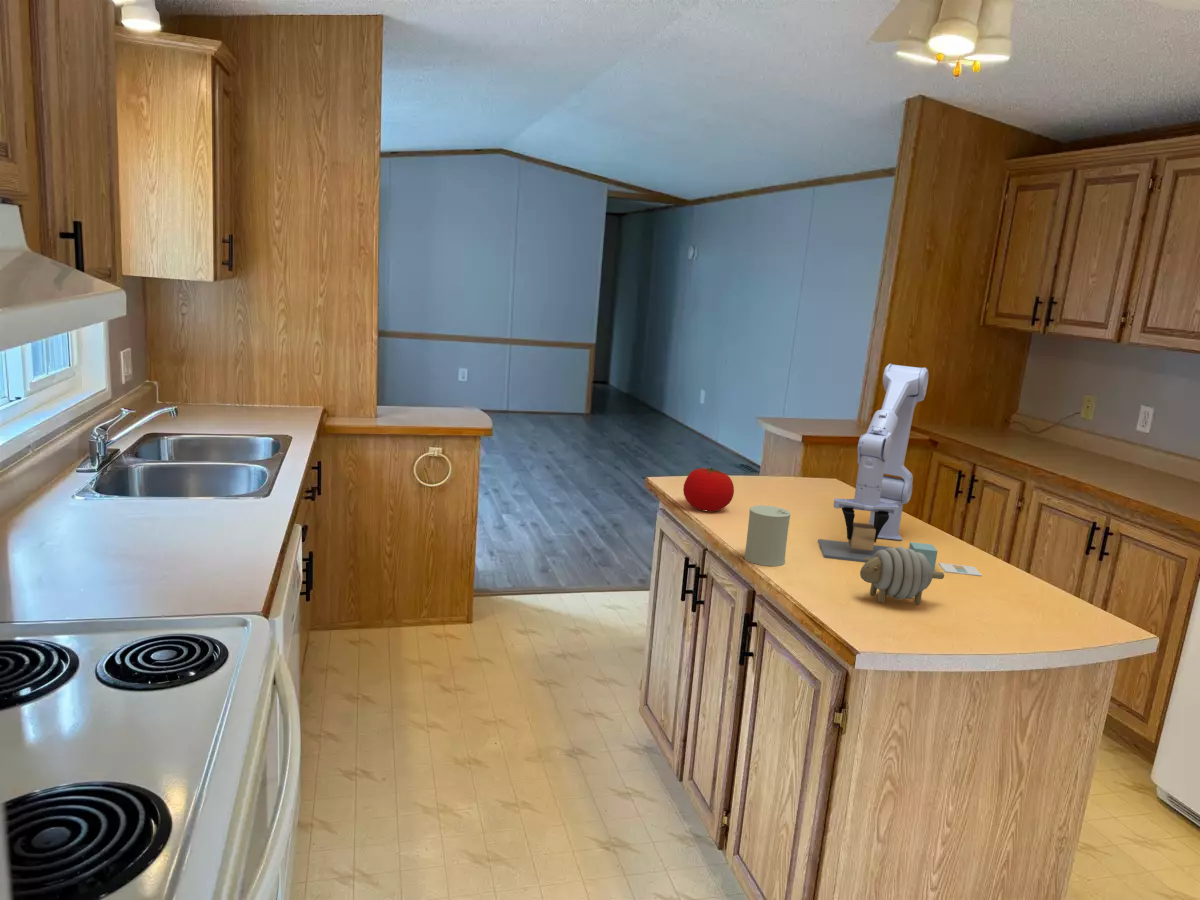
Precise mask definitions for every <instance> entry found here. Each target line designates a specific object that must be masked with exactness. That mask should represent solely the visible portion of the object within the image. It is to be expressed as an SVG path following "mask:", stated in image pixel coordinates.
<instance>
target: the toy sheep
mask: <svg viewBox="0 0 1200 900" xmlns="http://www.w3.org/2000/svg"><path fill="white" fill-rule="evenodd" d="M866 561H867V562H864V563H863V565H862V566H861V568H860V571H859V576H860V578H861V580H862V581H864V582H866V583H870V590H869V594H870V595H871V596H876V594H877V590H878V594H877V595H878V596H877V602H879V604H883V603H885V598H886V596H887V597H893V598H894V599H895V600H900V601H902V600H903V599H908V600H910V599H913V598H914V601H913V604H914V605H916V606H919V605H921V601H922V594H923V591H924V590H926V589H928V587H929V586H930V585H931V584H932V583H931V582H932V581H933V579H937V580H943V579H944V577H945V574H944V572H942V571H939V570H937V571H935V570H934V571H932V567H931V565H930V563H929V562H928V560H927V558H926V557H925V556H924V555H923V554H922V553H920V552H915V551H914V550H912V549H909V548H905V547H902V546H896V547H893V548H887V549H885V550H878V551H877V552H876V553H875V554H874V556H873V558H872V559H870V558H866Z"/></svg>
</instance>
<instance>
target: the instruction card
mask: <svg viewBox="0 0 1200 900" xmlns="http://www.w3.org/2000/svg"><path fill="white" fill-rule="evenodd" d="M938 565H939V566H940V567H941V569H942V570H943V571H944V572H945V573H952V574H960V575H969V576H976V577H977V576H978V577H982V576H983V575H982V573H981V572H980V571H979V569H977V568H976V567H975V566H972V565H971V566H969V565H962V564H961V565H960V564H951V563H943V562H938Z"/></svg>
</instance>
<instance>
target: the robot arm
mask: <svg viewBox="0 0 1200 900" xmlns="http://www.w3.org/2000/svg"><path fill="white" fill-rule="evenodd" d="M885 366H886V367H885V368H884V370H883V371H884V372H883V376H882V385H883V389H884V390H883V391H885V396H884V399H883V402H882V406H881V409H879V410H876V411H875V412H874V414H873V416H872V418H871V421H870V423H869V426H868V428H867V430H866V433H864V434H861V435H860V437H859V440H858V444H857V461H856V462H857V464H858V469H857V477H856V485H855V491H854V498H834V499H833V500H834V501H833V508H834V509H841V510H842V515H843V517H844V520H845V521H844V522H845V526H846V539H847V541H848V540H851V538H852V527H853V522H855V521H854V519H855V517H856V515H855V514H856V513H855V510H857V511H864V512H865V511H867V512H870V515H869V520H868V524H872V525H873V526H874V528H875V530H876V534H875V540H874V543H877V539H887V540H896V541H903V538H902V536H901V535H900V527H901V520H902V514H903V513H902V512H903V507H904V504H905V505H906V504H907V503H909V501H910V500H911V497H912V493H913V480H914V479H913V478H914V477H913V476H914V475H913V473H912V472H911V471H909V469H908V468H907V467H906V466H905V461H906V454H907V449H908V444H909V439H910V434H911V428H912V424H913V417H914V412H915V408H916V406H917V403H919V402H922V401H924V400H925V397H926V394H927V388H928V384H929V370H928V368H927V367H917V366H916V367H915V366H907V365H898V364H893V363H888V365H885ZM894 476H895V477H894ZM899 477H900V478H899Z"/></svg>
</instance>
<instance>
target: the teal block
mask: <svg viewBox="0 0 1200 900" xmlns="http://www.w3.org/2000/svg"><path fill="white" fill-rule="evenodd" d="M908 549H912V550H914V551H915V552H920V553H922V554H923V555H924V556H925V557H926V558H927V560H928V562H929V563H930V565H931V567H932V571H935V569H936V563H937V557H938V550H937V549H936V547H935V546H934V544H931V543H930V544H929V543H922V542H913V541H910V542H909V547H908Z"/></svg>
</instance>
